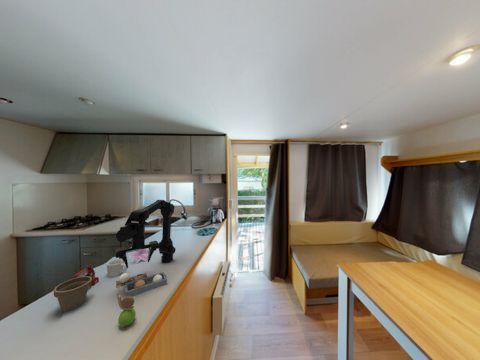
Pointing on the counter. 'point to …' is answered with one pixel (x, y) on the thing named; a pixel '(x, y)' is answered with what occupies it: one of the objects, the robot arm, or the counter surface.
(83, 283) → the flower pot
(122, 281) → the ball ivory rack
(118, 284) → the rack
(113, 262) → the cup
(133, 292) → the trough
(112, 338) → the counter surface
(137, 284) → the ball terracotta
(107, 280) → the counter surface
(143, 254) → the lily
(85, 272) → the toy fire truck
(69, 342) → the counter surface
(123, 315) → the snail figurine
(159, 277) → the ball ivory trough
